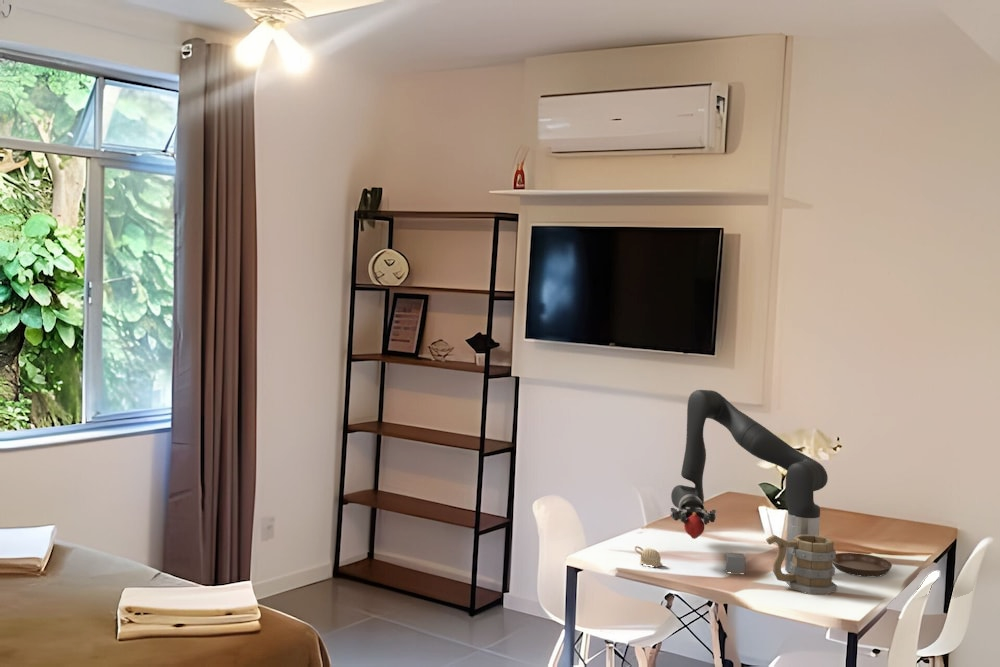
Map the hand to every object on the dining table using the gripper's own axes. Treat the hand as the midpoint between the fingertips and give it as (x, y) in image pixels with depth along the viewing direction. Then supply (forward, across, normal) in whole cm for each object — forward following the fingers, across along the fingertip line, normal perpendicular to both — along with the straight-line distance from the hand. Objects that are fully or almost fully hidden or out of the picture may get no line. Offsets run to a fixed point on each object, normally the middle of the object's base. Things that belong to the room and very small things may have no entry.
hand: (695, 520), depth 290 cm
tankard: (+9, +28, +16) cm, 34 cm away
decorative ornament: (-3, -13, +15) cm, 20 cm away
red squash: (-3, 0, +6) cm, 7 cm away
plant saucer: (-14, +51, +16) cm, 55 cm away
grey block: (-2, +12, +15) cm, 20 cm away
